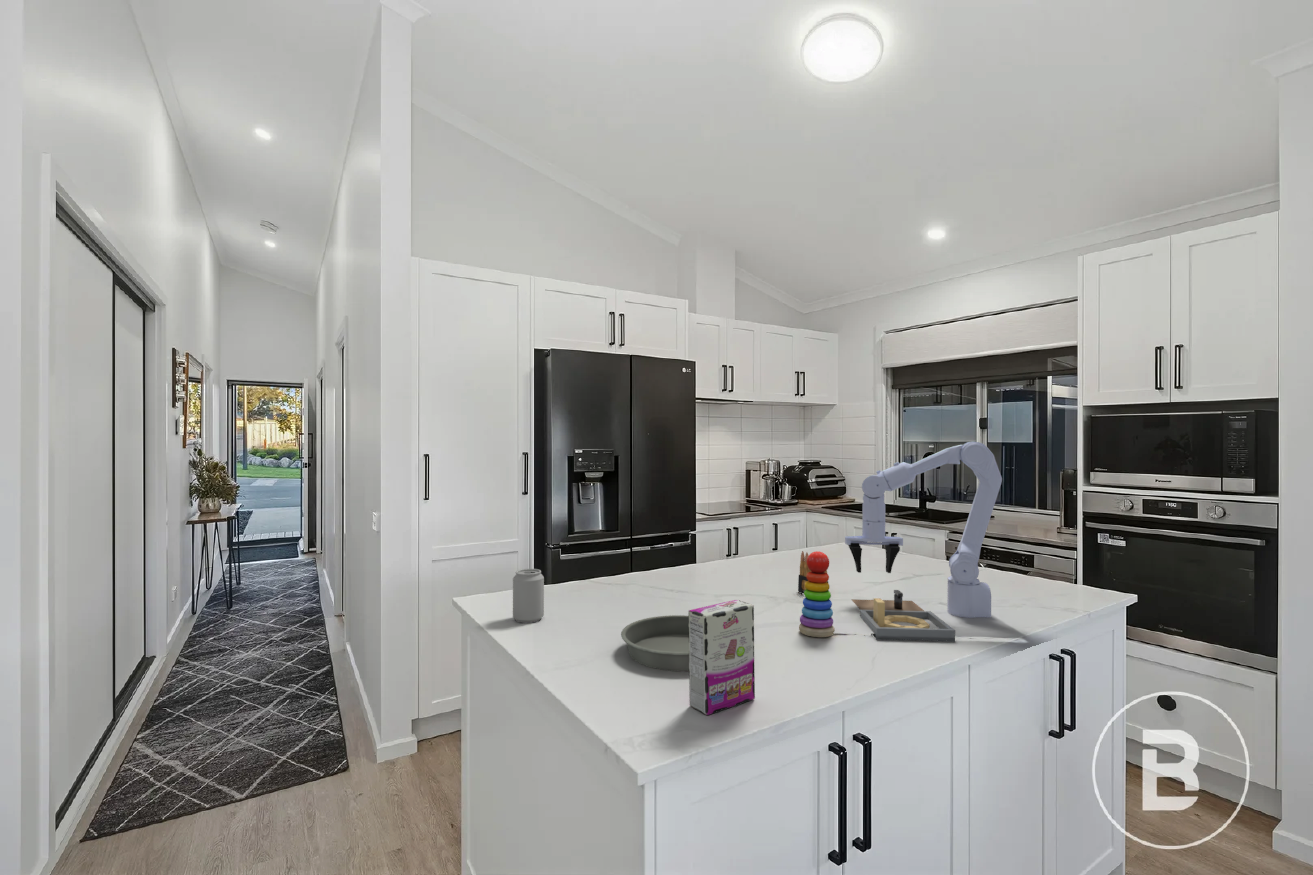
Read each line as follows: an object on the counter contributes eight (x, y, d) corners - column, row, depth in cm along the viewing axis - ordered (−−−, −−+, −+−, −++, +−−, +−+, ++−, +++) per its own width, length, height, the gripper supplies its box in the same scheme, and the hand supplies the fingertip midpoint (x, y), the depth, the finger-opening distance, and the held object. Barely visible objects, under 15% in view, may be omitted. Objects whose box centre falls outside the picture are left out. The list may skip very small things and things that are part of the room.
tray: (930, 621, 154) (930, 611, 154) (955, 641, 139) (955, 630, 139) (859, 619, 155) (859, 609, 155) (876, 639, 140) (876, 628, 140)
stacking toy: (836, 639, 140) (836, 555, 140) (799, 637, 141) (799, 554, 141) (833, 629, 148) (833, 549, 148) (798, 626, 149) (798, 548, 149)
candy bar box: (735, 690, 112) (736, 598, 112) (755, 699, 108) (756, 604, 108) (686, 705, 106) (687, 608, 106) (706, 716, 102) (706, 615, 102)
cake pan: (606, 641, 139) (606, 621, 139) (707, 629, 148) (707, 610, 148) (643, 682, 116) (643, 658, 116) (760, 665, 125) (760, 643, 125)
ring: (919, 620, 152) (919, 595, 152) (934, 633, 142) (934, 607, 142) (869, 619, 153) (869, 594, 153) (881, 632, 143) (881, 606, 143)
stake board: (911, 604, 169) (911, 600, 169) (930, 619, 155) (930, 615, 155) (851, 602, 170) (851, 599, 170) (864, 618, 156) (864, 614, 156)
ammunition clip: (829, 599, 174) (829, 556, 174) (824, 600, 173) (824, 557, 173) (802, 591, 183) (802, 550, 183) (797, 591, 182) (798, 550, 182)
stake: (900, 606, 163) (900, 590, 163) (904, 610, 160) (904, 593, 160) (892, 606, 164) (892, 589, 164) (896, 610, 160) (896, 593, 160)
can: (547, 615, 158) (547, 567, 158) (538, 624, 151) (539, 574, 151) (518, 614, 159) (518, 567, 159) (508, 623, 151) (508, 573, 151)
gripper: (897, 518, 169) (896, 569, 169) (842, 518, 170) (842, 568, 170) (905, 522, 162) (905, 575, 162) (848, 521, 163) (848, 574, 163)
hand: (873, 572), depth 166 cm, fingers open, 7 cm apart
